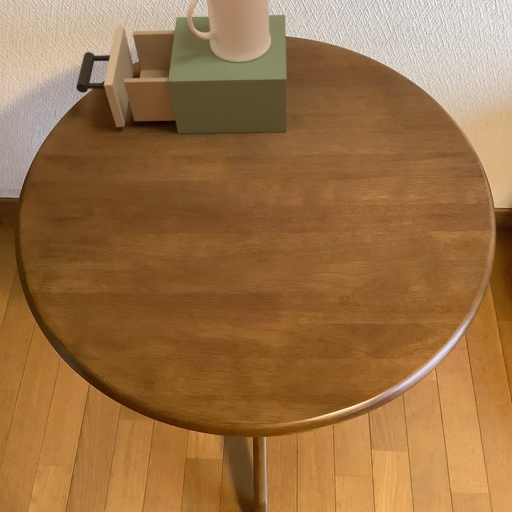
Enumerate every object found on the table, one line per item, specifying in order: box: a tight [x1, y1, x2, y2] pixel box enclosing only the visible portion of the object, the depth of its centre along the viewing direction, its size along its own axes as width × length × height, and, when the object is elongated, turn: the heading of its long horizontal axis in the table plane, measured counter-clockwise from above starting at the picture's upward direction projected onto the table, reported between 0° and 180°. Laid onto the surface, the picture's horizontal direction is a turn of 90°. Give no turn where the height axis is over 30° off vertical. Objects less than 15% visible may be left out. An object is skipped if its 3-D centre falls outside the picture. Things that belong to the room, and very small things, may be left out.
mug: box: [186, 0, 271, 62], centre depth 83 cm, size 12×8×12 cm
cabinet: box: [168, 14, 288, 135], centre depth 92 cm, size 16×14×10 cm
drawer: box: [75, 26, 176, 128], centre depth 92 cm, size 20×13×8 cm, turn 89°
